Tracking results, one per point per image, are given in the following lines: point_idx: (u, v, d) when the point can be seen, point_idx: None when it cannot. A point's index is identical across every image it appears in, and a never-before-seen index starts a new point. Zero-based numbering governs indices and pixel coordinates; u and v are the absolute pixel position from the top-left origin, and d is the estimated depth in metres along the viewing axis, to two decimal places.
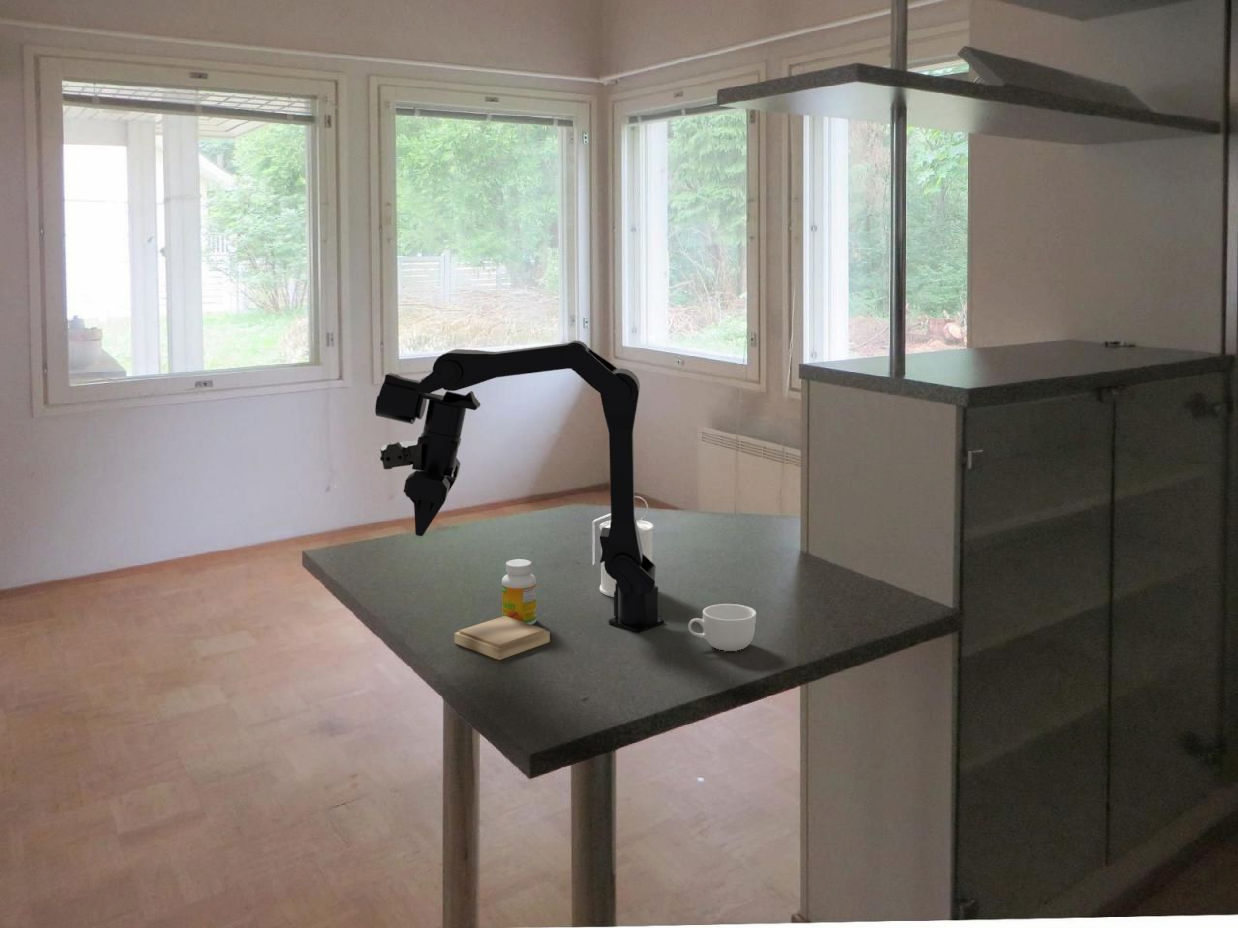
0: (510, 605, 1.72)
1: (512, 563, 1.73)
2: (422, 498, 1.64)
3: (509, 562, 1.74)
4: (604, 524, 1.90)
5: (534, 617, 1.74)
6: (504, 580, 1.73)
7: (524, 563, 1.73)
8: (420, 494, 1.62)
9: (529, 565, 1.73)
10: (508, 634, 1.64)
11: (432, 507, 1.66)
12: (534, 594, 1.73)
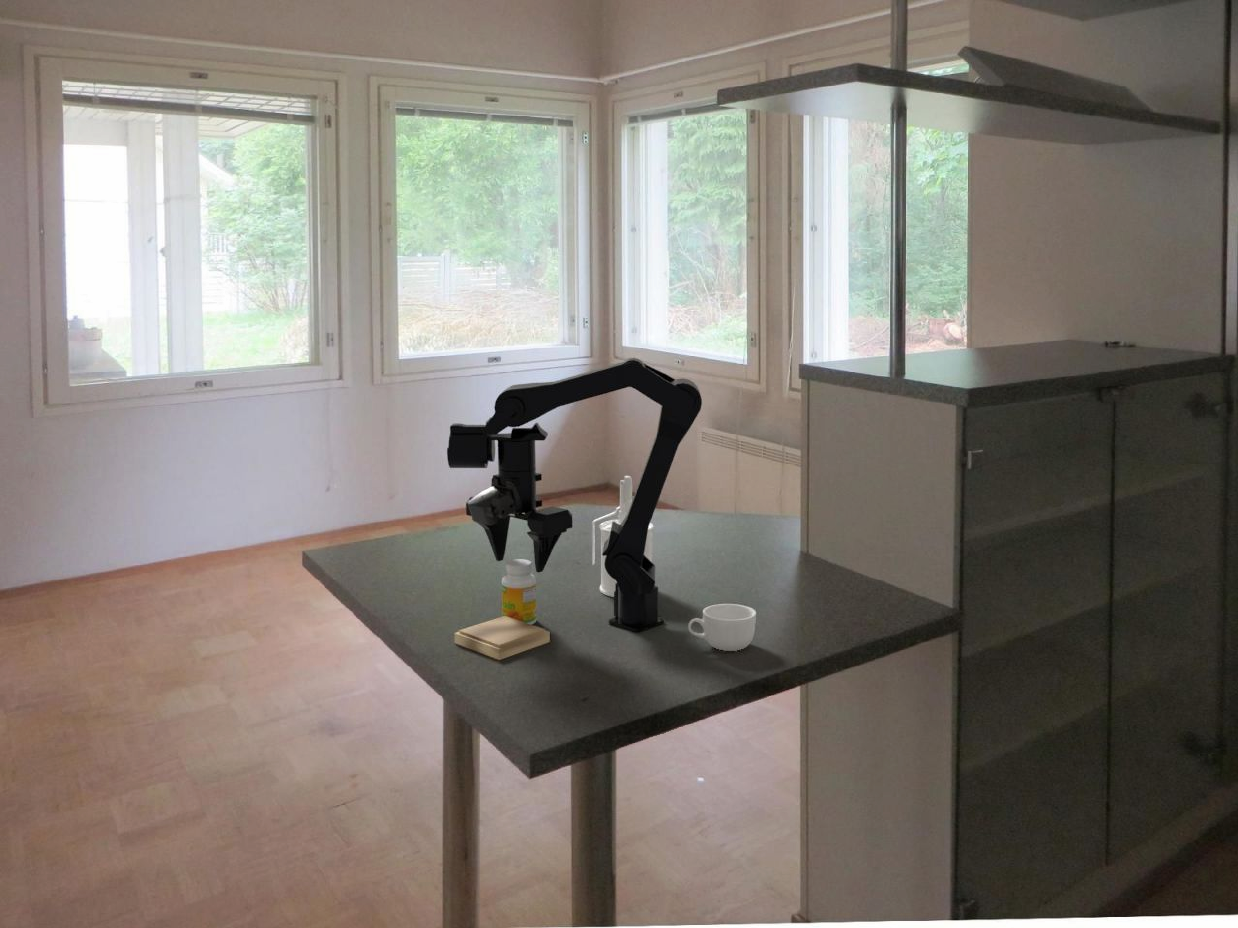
0: (510, 605, 1.72)
1: (512, 563, 1.73)
2: (553, 533, 1.67)
3: (509, 562, 1.74)
4: (604, 524, 1.90)
5: (534, 617, 1.74)
6: (504, 580, 1.73)
7: (523, 563, 1.73)
8: (557, 529, 1.65)
9: (529, 565, 1.73)
10: (508, 634, 1.64)
11: (552, 539, 1.69)
12: (534, 594, 1.73)
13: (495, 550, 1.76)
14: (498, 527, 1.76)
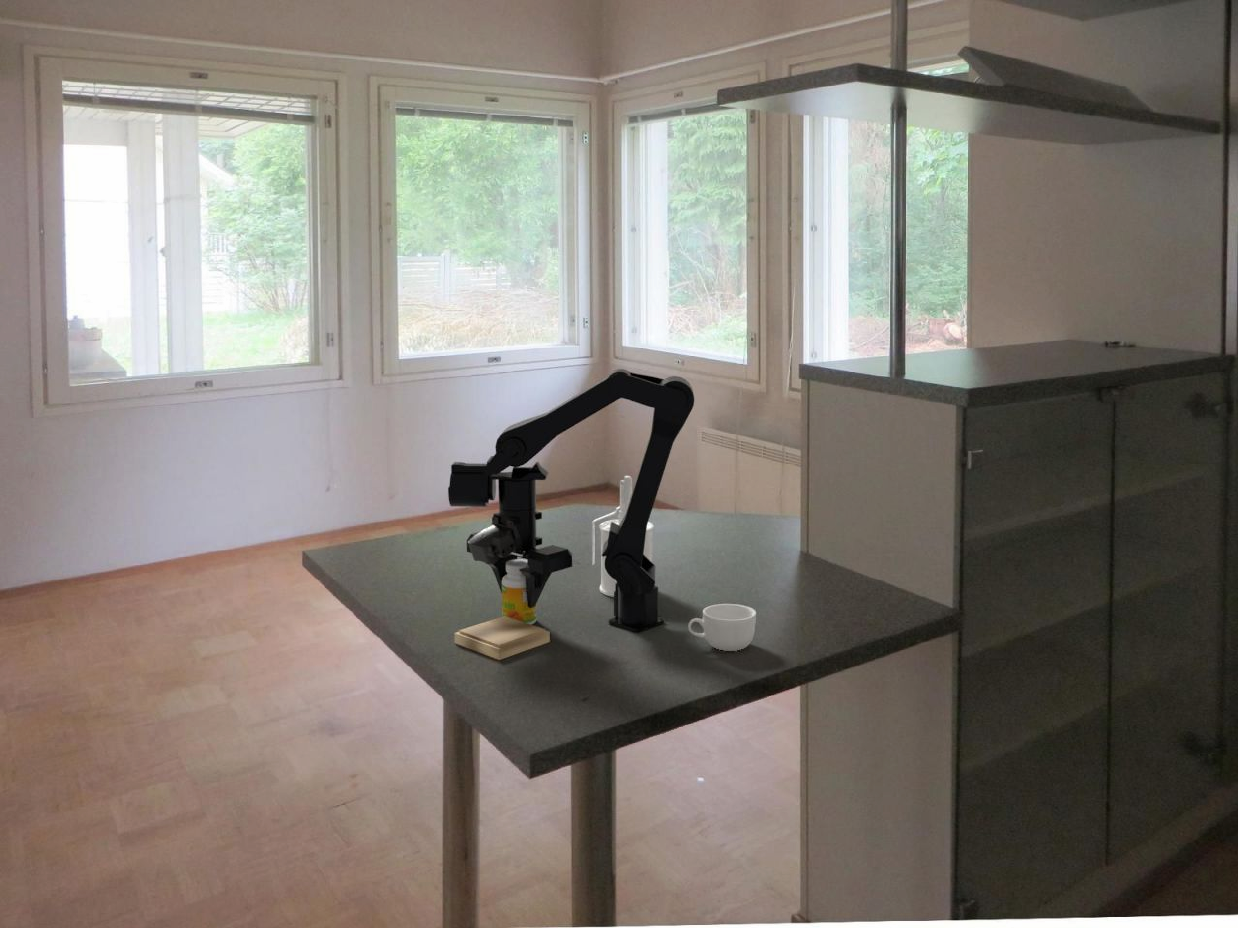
0: (510, 605, 1.72)
1: (512, 563, 1.73)
2: None
3: (509, 562, 1.74)
4: (604, 524, 1.90)
5: (534, 617, 1.74)
6: (504, 580, 1.73)
7: (524, 563, 1.73)
8: (557, 569, 1.67)
9: None
10: (508, 634, 1.64)
11: (544, 575, 1.72)
12: None
13: None
14: (505, 566, 1.76)
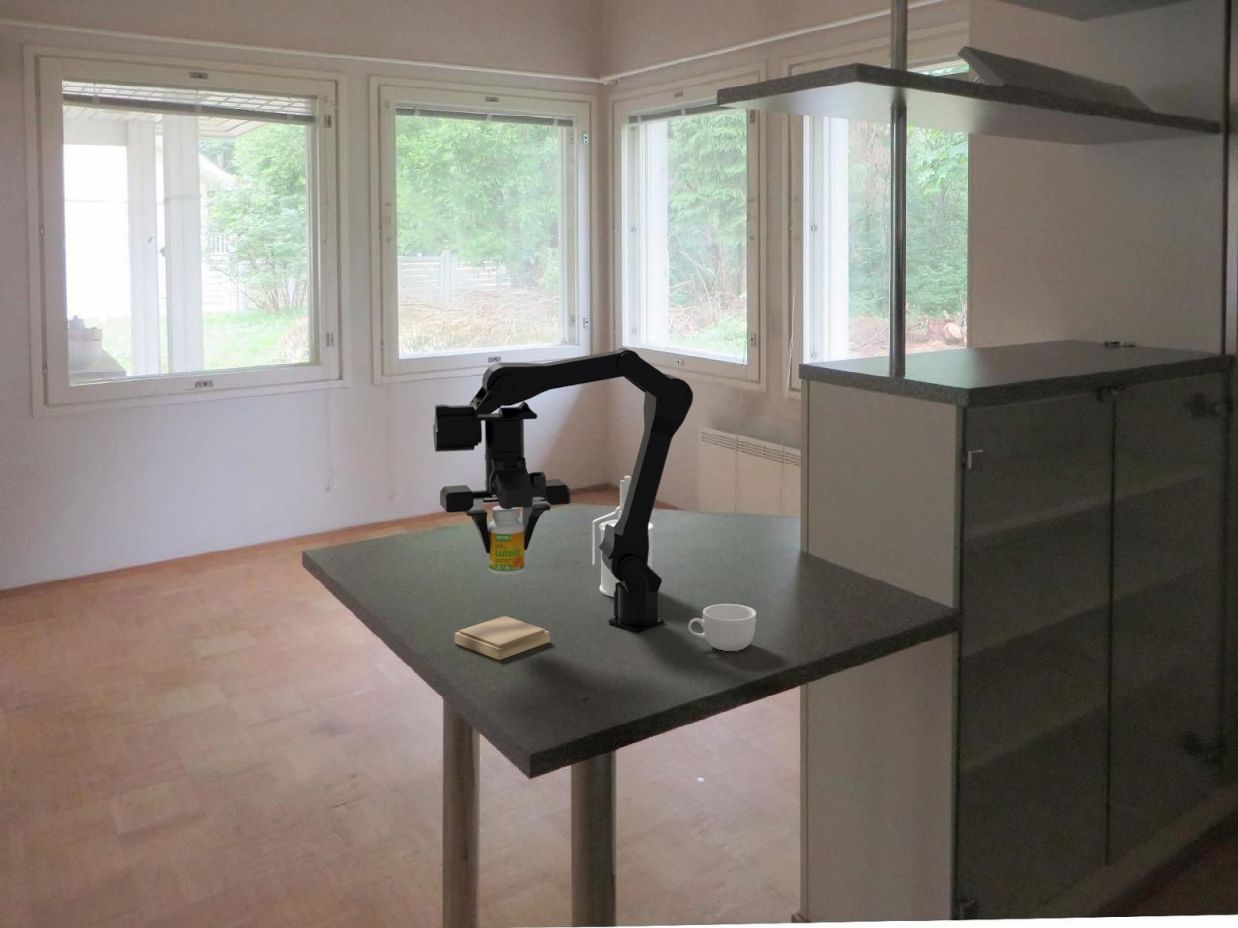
0: (515, 552, 1.65)
1: (505, 509, 1.65)
2: None
3: (499, 510, 1.65)
4: (604, 524, 1.90)
5: None
6: (505, 528, 1.64)
7: None
8: None
9: None
10: (508, 634, 1.64)
11: None
12: None
13: (488, 542, 1.65)
14: None
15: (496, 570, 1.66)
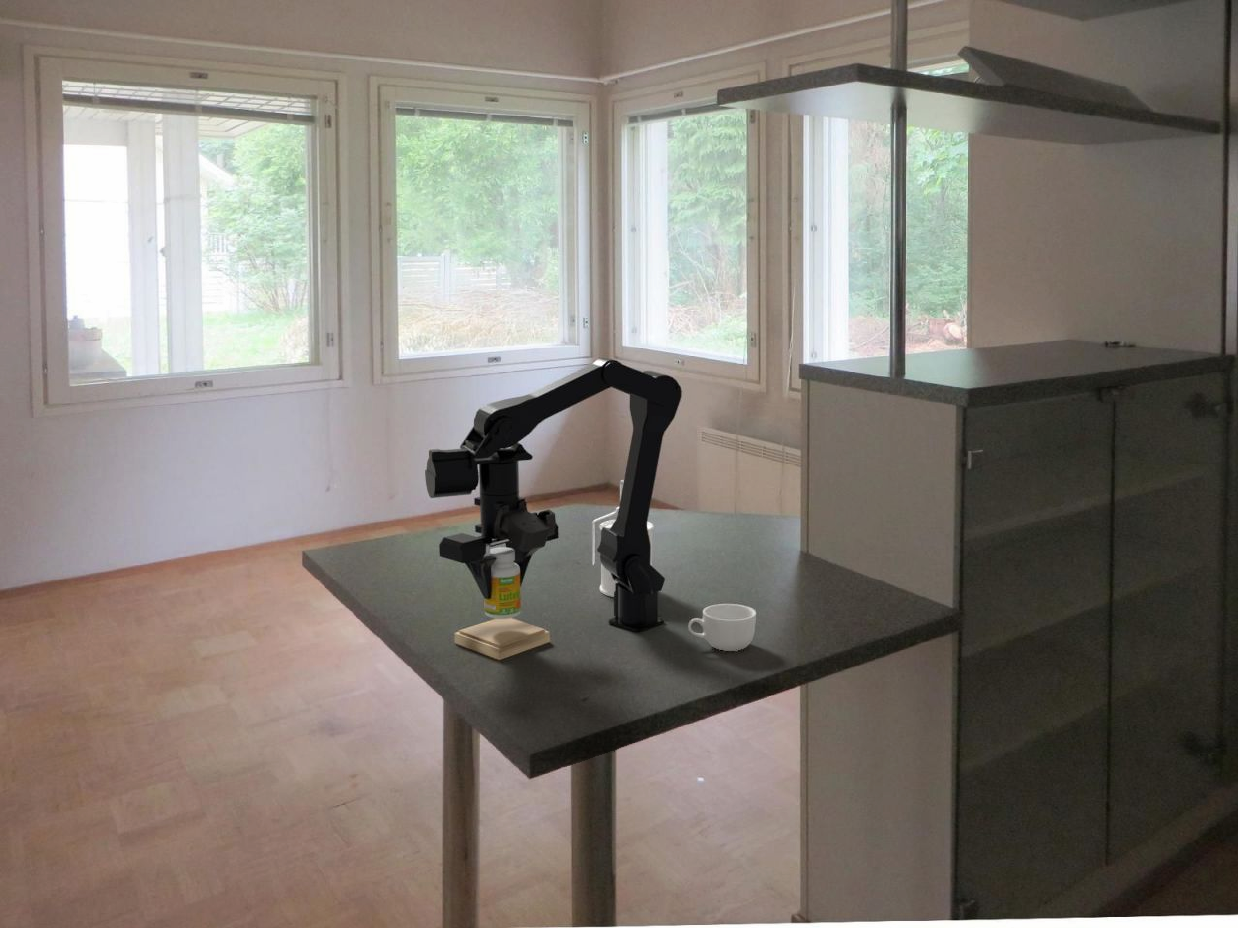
0: (517, 593, 1.64)
1: (503, 552, 1.63)
2: None
3: (499, 553, 1.62)
4: (604, 524, 1.90)
5: None
6: (509, 571, 1.62)
7: (505, 549, 1.64)
8: None
9: None
10: (508, 634, 1.64)
11: None
12: None
13: (490, 587, 1.62)
14: None
15: (500, 615, 1.63)
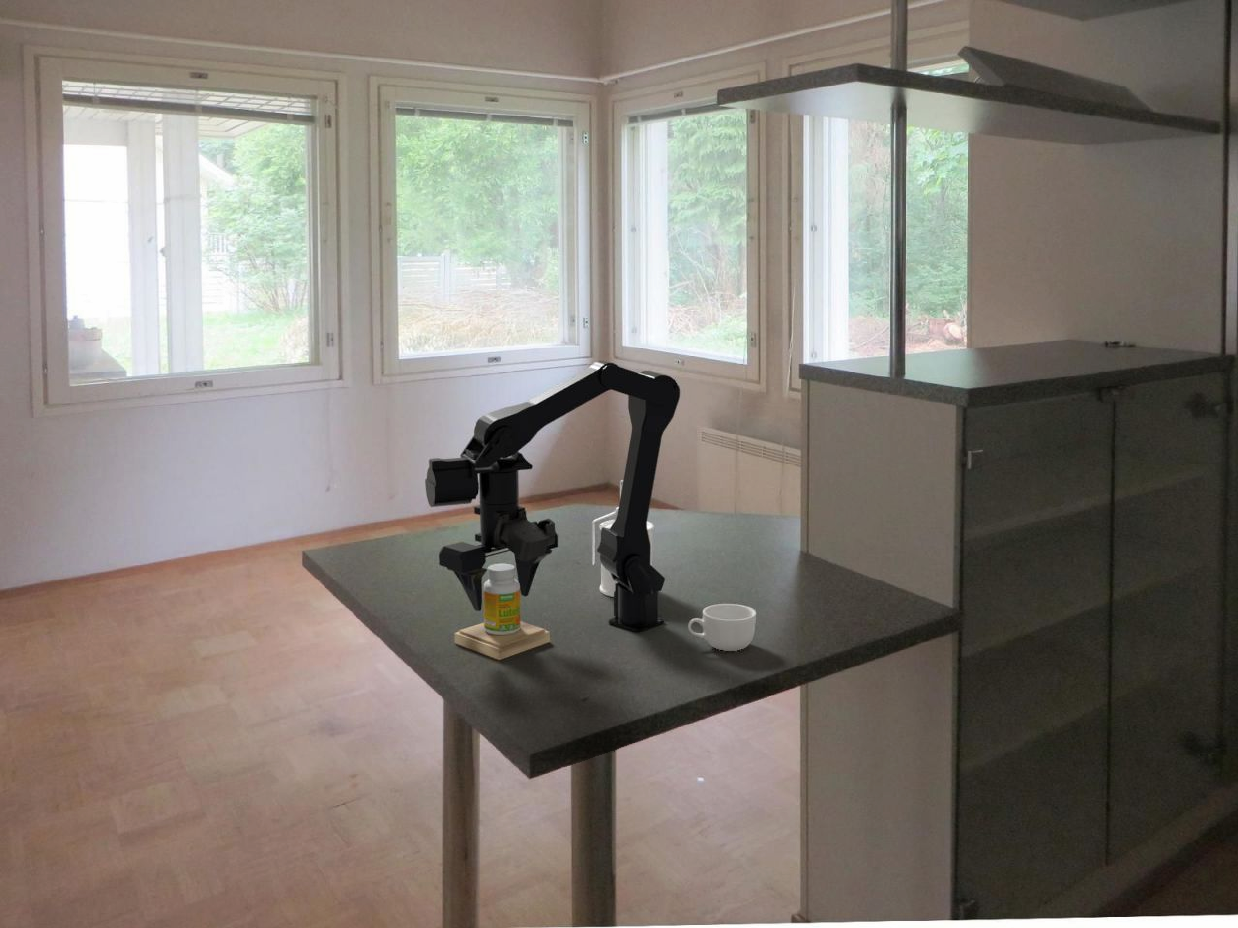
0: (517, 610, 1.64)
1: (503, 568, 1.63)
2: None
3: (499, 569, 1.63)
4: (604, 524, 1.90)
5: None
6: (509, 587, 1.62)
7: (506, 565, 1.65)
8: None
9: None
10: None
11: None
12: None
13: (481, 599, 1.61)
14: None
15: (500, 631, 1.63)
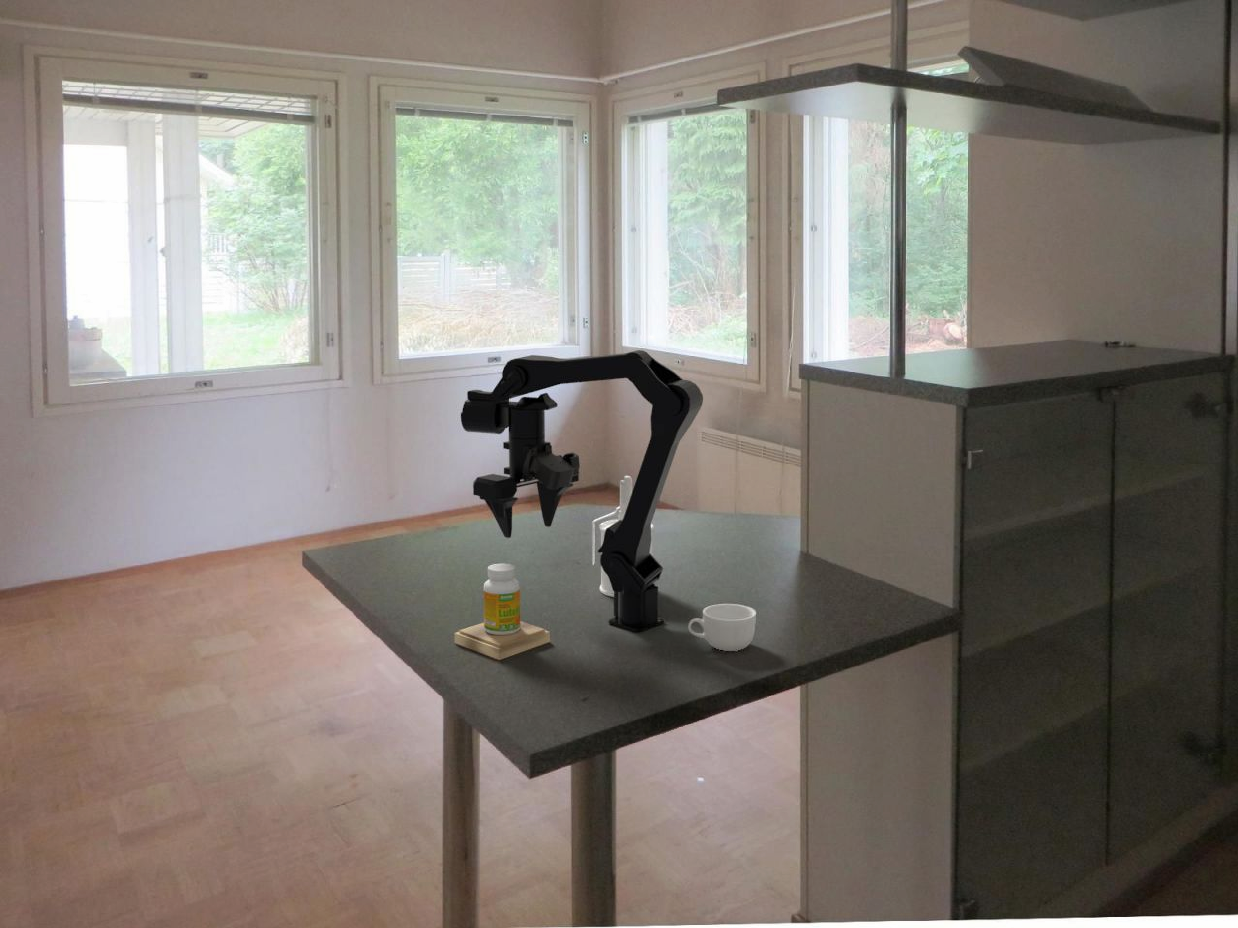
0: (517, 610, 1.64)
1: (503, 568, 1.63)
2: None
3: (499, 569, 1.63)
4: (604, 524, 1.90)
5: None
6: (509, 587, 1.62)
7: (506, 565, 1.65)
8: None
9: None
10: None
11: None
12: None
13: (511, 527, 1.74)
14: None
15: (500, 631, 1.63)
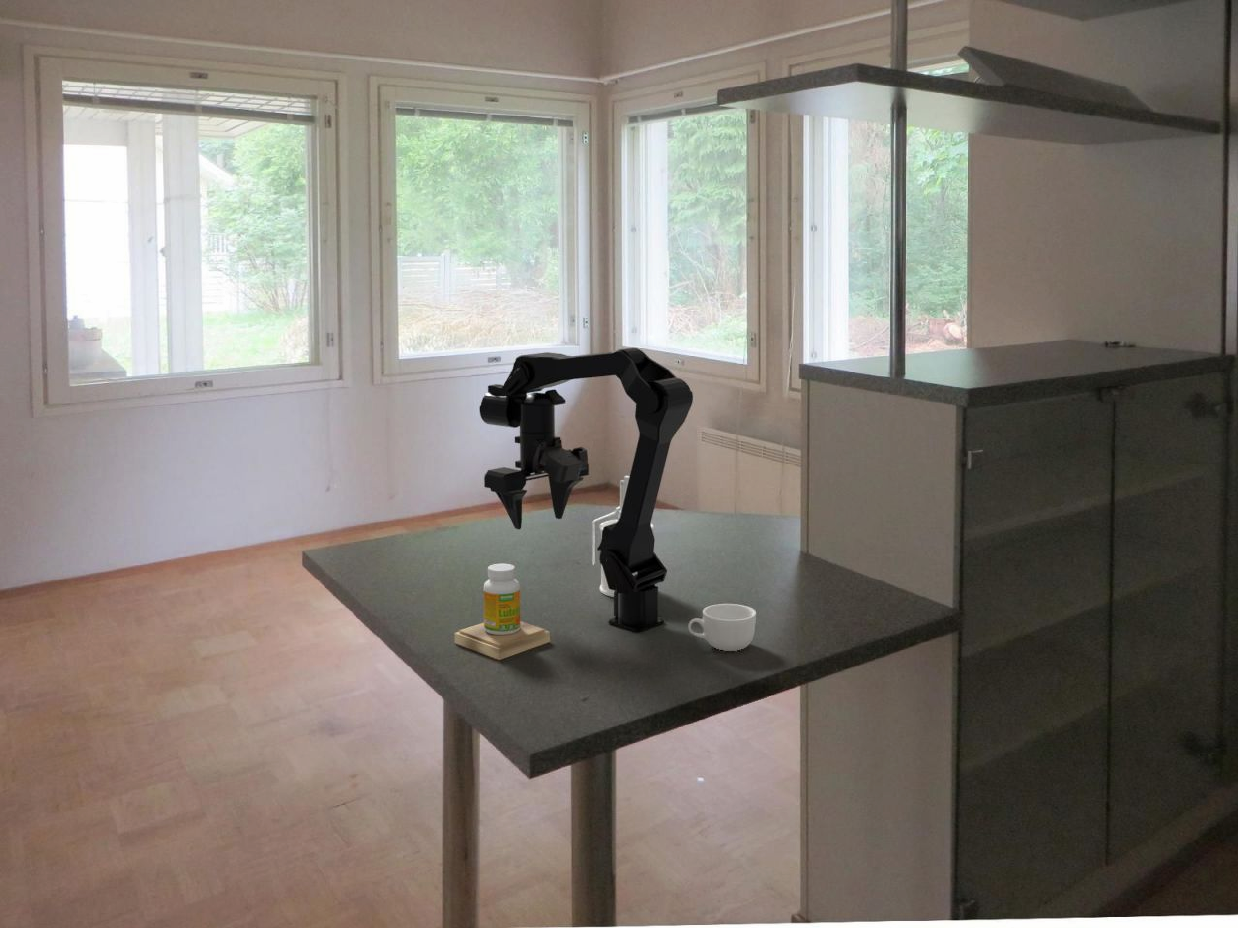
0: (517, 610, 1.64)
1: (503, 568, 1.63)
2: None
3: (499, 569, 1.63)
4: (604, 524, 1.90)
5: None
6: (509, 587, 1.62)
7: (506, 565, 1.65)
8: None
9: None
10: None
11: None
12: None
13: (521, 518, 1.80)
14: None
15: (500, 631, 1.63)
